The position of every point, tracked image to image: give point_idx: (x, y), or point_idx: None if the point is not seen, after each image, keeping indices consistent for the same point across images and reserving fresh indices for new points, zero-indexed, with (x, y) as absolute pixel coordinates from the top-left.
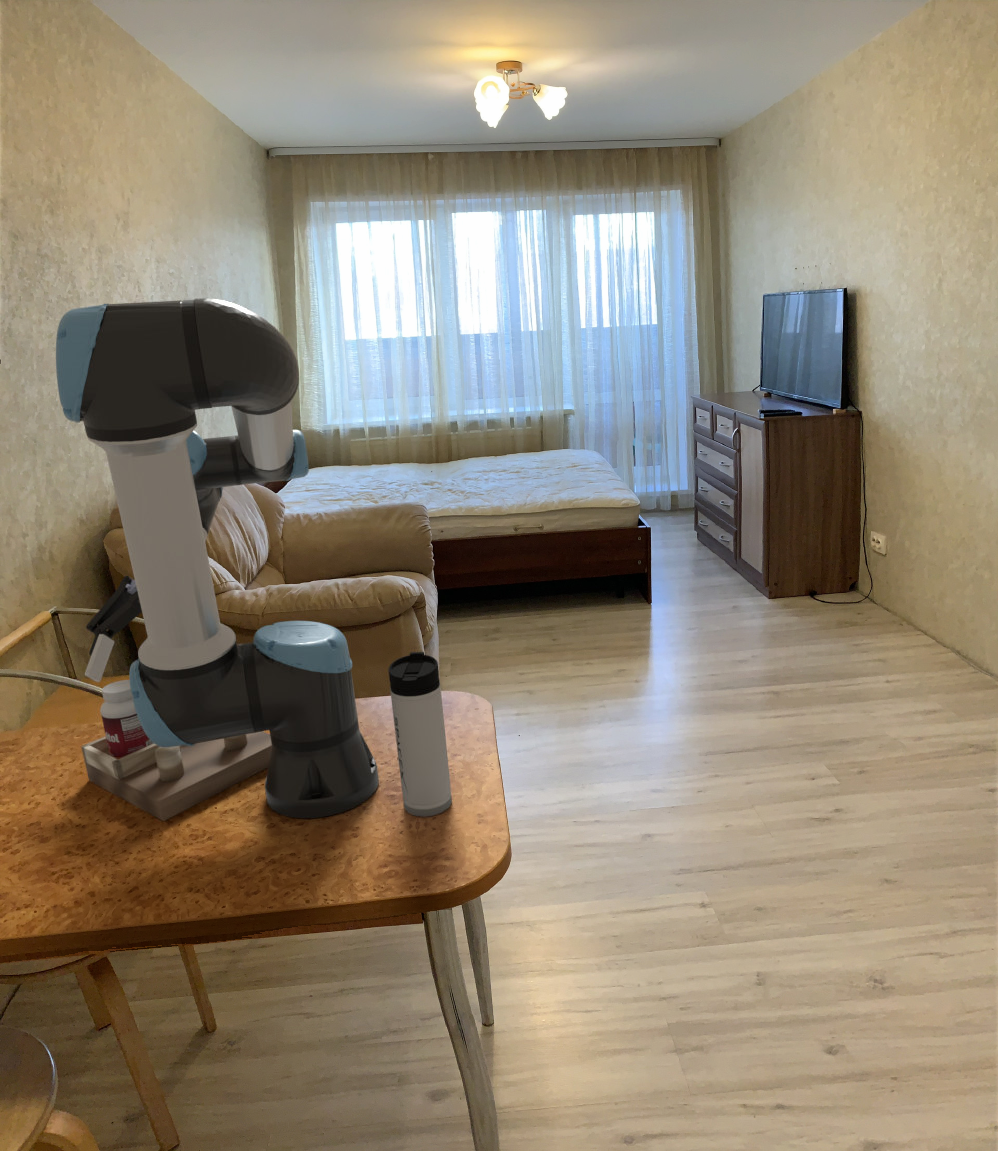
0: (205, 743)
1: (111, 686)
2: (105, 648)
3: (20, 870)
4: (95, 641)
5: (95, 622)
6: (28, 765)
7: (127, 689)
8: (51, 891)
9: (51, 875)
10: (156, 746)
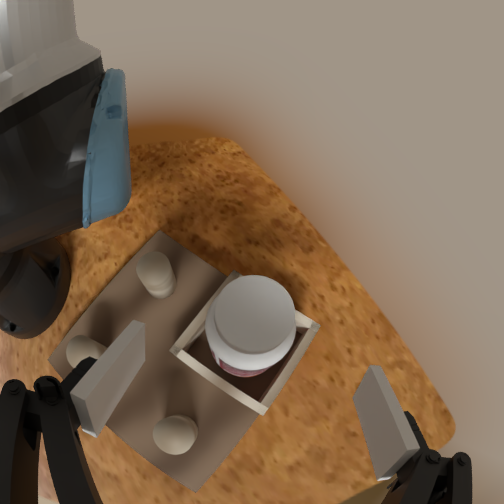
0: (144, 373)
1: (277, 312)
2: (382, 441)
3: (268, 186)
4: (418, 440)
5: (456, 473)
6: (403, 370)
7: (223, 289)
8: (225, 164)
9: (236, 179)
10: (193, 321)
